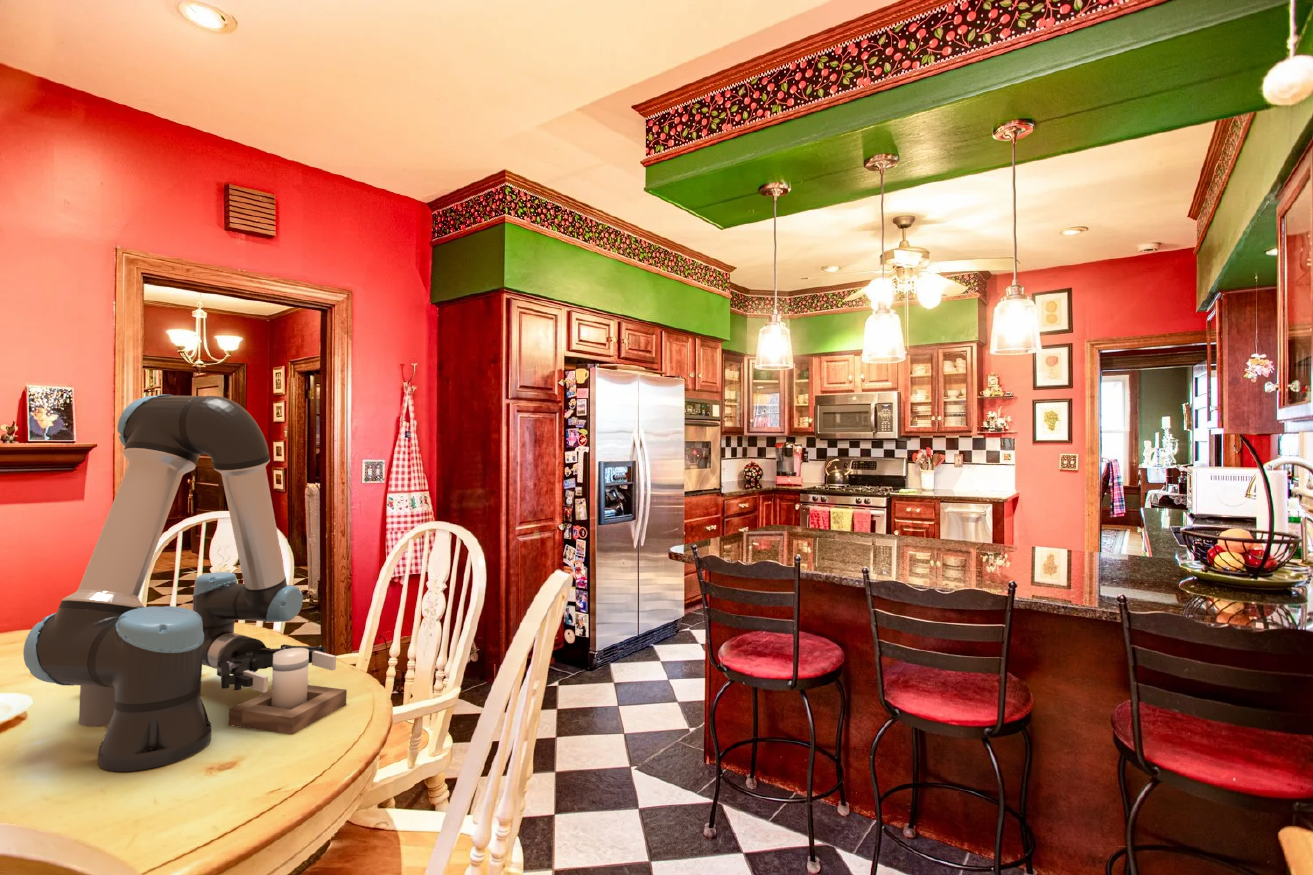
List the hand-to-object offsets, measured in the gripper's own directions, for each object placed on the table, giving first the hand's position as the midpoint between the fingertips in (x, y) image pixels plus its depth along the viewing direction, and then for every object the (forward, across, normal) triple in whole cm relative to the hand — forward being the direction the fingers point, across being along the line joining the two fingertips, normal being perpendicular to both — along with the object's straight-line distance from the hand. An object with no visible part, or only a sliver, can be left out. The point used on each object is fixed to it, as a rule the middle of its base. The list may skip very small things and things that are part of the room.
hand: (301, 673), depth 121 cm
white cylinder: (-3, 0, -8) cm, 9 cm away
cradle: (-3, 0, -8) cm, 9 cm away
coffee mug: (-30, +16, -9) cm, 35 cm away
